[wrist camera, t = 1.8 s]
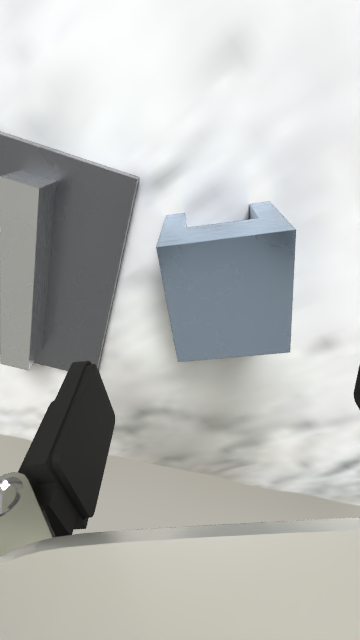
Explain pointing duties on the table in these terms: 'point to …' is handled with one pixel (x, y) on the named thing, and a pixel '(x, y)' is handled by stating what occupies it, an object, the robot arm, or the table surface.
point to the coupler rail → (58, 253)
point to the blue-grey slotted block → (229, 284)
